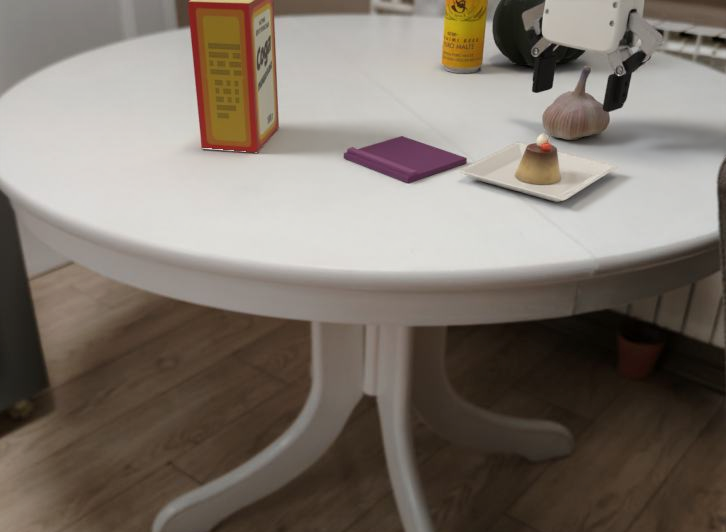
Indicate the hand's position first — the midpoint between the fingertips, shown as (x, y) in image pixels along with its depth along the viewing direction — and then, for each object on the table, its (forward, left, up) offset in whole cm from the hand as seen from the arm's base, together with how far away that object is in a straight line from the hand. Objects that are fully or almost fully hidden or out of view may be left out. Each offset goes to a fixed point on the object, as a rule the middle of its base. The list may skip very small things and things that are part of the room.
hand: (576, 99), depth 93 cm
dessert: (-6, +14, -4) cm, 16 cm away
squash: (+25, -26, -4) cm, 36 cm away
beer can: (+30, -14, -4) cm, 33 cm away
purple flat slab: (+7, +21, -4) cm, 22 cm away
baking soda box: (+25, +30, -4) cm, 39 cm away
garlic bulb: (0, 0, -4) cm, 4 cm away
